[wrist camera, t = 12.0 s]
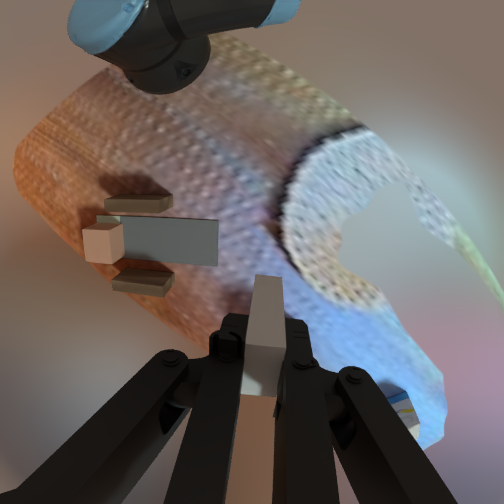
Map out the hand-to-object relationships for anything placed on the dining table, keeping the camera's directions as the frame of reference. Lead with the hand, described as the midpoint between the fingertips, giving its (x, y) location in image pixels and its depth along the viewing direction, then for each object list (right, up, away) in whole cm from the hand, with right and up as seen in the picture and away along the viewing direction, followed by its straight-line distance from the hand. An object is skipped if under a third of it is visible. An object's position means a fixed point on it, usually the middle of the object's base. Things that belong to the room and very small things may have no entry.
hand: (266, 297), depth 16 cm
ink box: (+36, -37, +42) cm, 66 cm away
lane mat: (-18, +5, +32) cm, 37 cm away
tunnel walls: (-19, +5, +32) cm, 38 cm away
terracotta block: (-27, +5, +32) cm, 43 cm away
